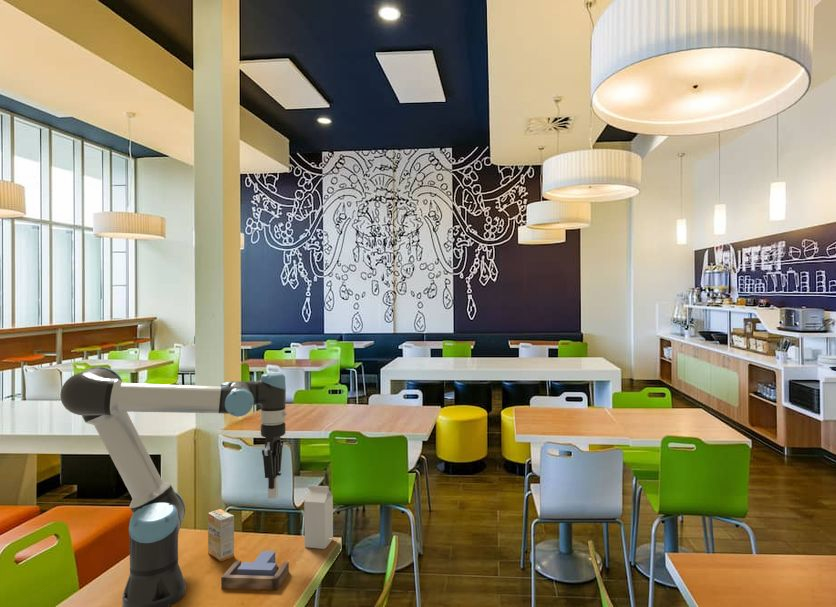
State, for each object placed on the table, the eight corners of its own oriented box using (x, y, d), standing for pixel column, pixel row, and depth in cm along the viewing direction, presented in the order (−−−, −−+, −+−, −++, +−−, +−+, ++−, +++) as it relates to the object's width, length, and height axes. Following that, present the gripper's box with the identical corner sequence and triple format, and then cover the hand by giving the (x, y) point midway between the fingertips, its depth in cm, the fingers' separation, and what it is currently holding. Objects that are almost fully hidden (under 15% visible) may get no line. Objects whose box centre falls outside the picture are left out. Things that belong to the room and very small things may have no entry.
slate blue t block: (253, 563, 156) (252, 550, 156) (285, 564, 155) (284, 551, 155) (237, 583, 145) (237, 569, 145) (271, 584, 144) (271, 570, 144)
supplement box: (207, 554, 162) (206, 512, 162) (221, 548, 166) (221, 508, 166) (220, 562, 157) (219, 519, 157) (234, 556, 161) (234, 514, 161)
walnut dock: (221, 588, 142) (221, 577, 142) (236, 570, 152) (236, 560, 152) (277, 590, 141) (277, 579, 141) (288, 572, 151) (288, 561, 151)
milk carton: (325, 549, 165) (324, 490, 165) (304, 547, 166) (303, 489, 166) (333, 539, 171) (332, 482, 172) (313, 537, 173) (312, 481, 173)
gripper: (277, 427, 155) (277, 505, 154) (291, 418, 168) (291, 490, 167) (253, 427, 155) (253, 505, 155) (269, 418, 168) (268, 490, 168)
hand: (272, 497), depth 161 cm, fingers closed
